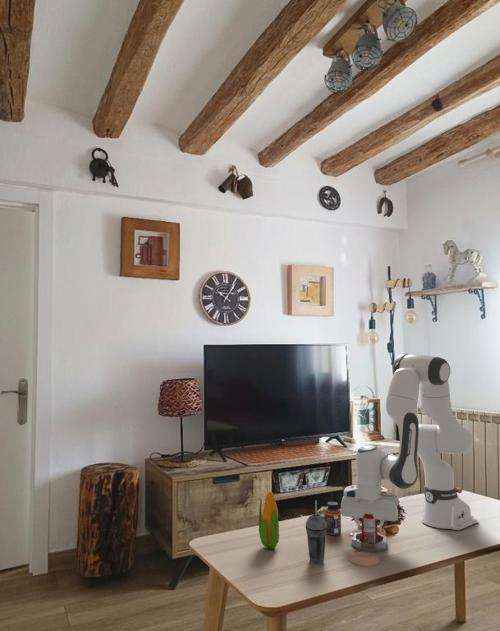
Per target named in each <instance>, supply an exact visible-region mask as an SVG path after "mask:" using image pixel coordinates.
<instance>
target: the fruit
mask: <svg viewBox="0 0 500 631" xmlns="http://www.w3.org/2000/svg"><path fill="white" fill-rule="evenodd" d="M326 508H328V505H326V506H321V508H319V509H317V514H319V515H321V516H322V517H323V518H324V519H325V510H326Z"/></svg>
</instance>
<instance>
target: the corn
mask: <svg viewBox="0 0 500 631" xmlns="http://www.w3.org/2000/svg"><path fill="white" fill-rule="evenodd" d="M262 504H263V503H262V499H260V503H259V515H258V533H259V539H260V542H261V544H262V545H263V547H265V549H268V550H273V549H275V548H276V547H277V545H278V543H279V539H280V529H279V528H280V525H279V509H278V506H277V503H276V498H275V495H274V494H273V492H272V491H268V492H267V494H266V495H265V500H264V504H263V509H262ZM262 510H263V511H262Z"/></svg>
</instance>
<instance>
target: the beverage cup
mask: <svg viewBox="0 0 500 631" xmlns="http://www.w3.org/2000/svg"><path fill="white" fill-rule="evenodd" d="M317 504H318V502H317V499H316V500H315V502H314V505H315V508H314V509H315V510H314V513H312V514H311V515H310V516H308V518H307V519H306V521H305V531H306V534H307V535H306V537H307V547H308V557H309V563H310V564H312V565H316V566H317V565H323V564H324V560H325V553H326V552H325V551H326V539H327V538H326V535H327V533H326V532H327V524H326V521H325V519H324V518H323V517H322V516H321V515H319V514H317V511H318V505H317Z"/></svg>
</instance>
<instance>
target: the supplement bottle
mask: <svg viewBox="0 0 500 631" xmlns="http://www.w3.org/2000/svg"><path fill="white" fill-rule="evenodd" d="M327 506H328V508H326V510H325V521H326V524H327V532H326V535H329V536H339V535H340V534H342V515H341V508H339V503H338V502H336V501H328V502H327Z"/></svg>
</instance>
